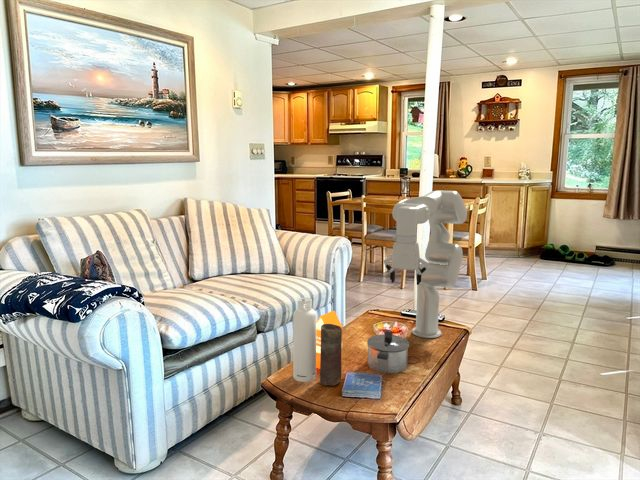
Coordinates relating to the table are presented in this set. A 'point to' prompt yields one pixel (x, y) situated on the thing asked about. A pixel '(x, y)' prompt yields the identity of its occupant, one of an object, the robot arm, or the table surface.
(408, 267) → the robot arm
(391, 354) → the pot
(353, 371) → the table surface
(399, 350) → the lid
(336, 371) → the candle
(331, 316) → the orange juice
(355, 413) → the table surface
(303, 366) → the bottle
